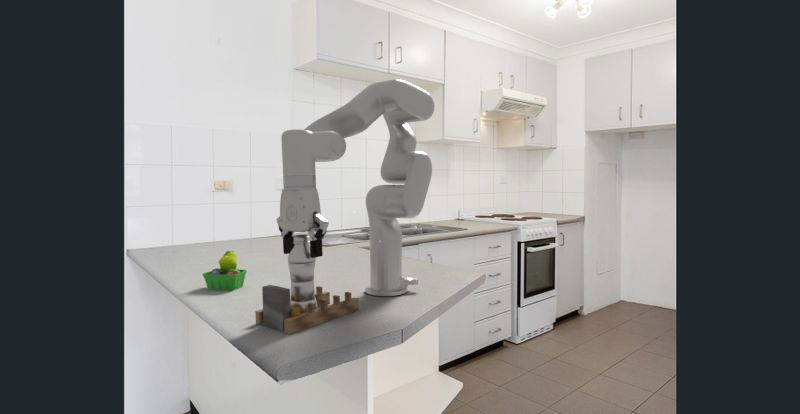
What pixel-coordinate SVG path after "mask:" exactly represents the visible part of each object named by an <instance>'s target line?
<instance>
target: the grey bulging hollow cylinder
mask: <svg viewBox="0 0 800 414" xmlns="http://www.w3.org/2000/svg"><path fill="white" fill-rule="evenodd" d="M293 236H294V241H293V244H294V247H293V248H292V250H291V251H290V253H289V254H287V255H288V256H287V263H288V270H289V275H290V276H289V278H290V286H291V287H290V306H294V307H298V308H300V314H303V313H306V312H308V303H315V309H318V307H317V301H316V298H315V294H316V288H315V269H316V260H317V257H315V258H311V256H310V241H311V240H310V235H309V234H295V235H293Z"/></svg>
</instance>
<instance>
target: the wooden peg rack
mask: <svg viewBox="0 0 800 414" xmlns="http://www.w3.org/2000/svg"><path fill="white" fill-rule="evenodd" d="M261 290H262V291H261V292H262V309H257V310H255V324H256V325H263V326H265V327H268V328H271V329H272V330H273V329H274V330H276V331H281V332H284V333H285V334H288V335H291V334H293V333H297V332H300V331H303V330H305V329H308V328H310V327H313V326H317V325H320V324H322V323H325V322H328V321H331V320H333V319H337V318H340V317H342V316H346V315H349V314H350V313H354V312H356V311H359V303H360V302H359V301H360V300H359V298H358V297H352V292H349V291H346V292H344V300H341V296H340V295H336V294H335V295H332V304H331V302H330V301H331V300H330V299H331V297H330V295H331V294H330V293H331V292H330V291H323V286H319V285H317V286H315V298H316V301H317V309H315V303H308V312H306V313H303V314H300V308H298V307H294V306H290V300H291V299H290V298H291V288H287V287H283V286H278V285H274V284H273V285H272V284H267V285H264V286H262V289H261Z"/></svg>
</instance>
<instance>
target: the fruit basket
mask: <svg viewBox="0 0 800 414" xmlns="http://www.w3.org/2000/svg"><path fill="white" fill-rule="evenodd" d="M218 264H219V268H213V269H212V270H209V271H207V272H203V273H202V276H203V278H204V281H205V284H206V288H207V289H208V290H217V291H219V290H223V291H236V290H238V289H240V288H241V287H243V286H244V283H245V277H246V274H247V272H248V270H247V269H237V266H238V260H237V254H236V253H235V251H234V250H227V251H225V253H224V254H223V256H222V257H220V258H219V261H218Z"/></svg>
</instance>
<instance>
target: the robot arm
mask: <svg viewBox="0 0 800 414" xmlns="http://www.w3.org/2000/svg"><path fill="white" fill-rule="evenodd" d="M434 112H435V100H434V99H433V97H432V95H431V94H430V93H429V92H427V90H425V89H423V88H421V87H419V86H417V85H414V84H413V83H411V82H408V81H406V80H402V79H398V78H393V79H390V80H389V79H388V80H383V81H377V82H375V83H371V84H369V85H368V86H366V87H364V89H363V90H361V91H360V92H359V93H358V94H356V95H355V96H354V97H353V98H352V99H351V100H349V101H348V102H347V103H346V104H344V105H343V106H341V107H339V108H336V109H334V110H333V111H331V112H330V113H328V114H326V115H324V116H322V117H320V118H318V119H317V120H315V121H313V122H312V123H311V124H309V125H307V126H306V128H304V129H297V128H296V129H295V128H294V129H287V130H284V131H283V132H282V134H281V138H280V139H281V161H282V177H283V178H282V179H283V181H282V182H283V189H281V193H280V194H281V195H280V201H279V202H280V203H279V216H278V217H277V218H276V223H277V226H278V231H280V233H281V234H280V236H281V238H282V246H283V247H282V248H283V249H282V250H283V254H284V255H289V253H290V251H291V250H292V248H293V247H294V244H293V241H294V236H295V235H294V234H295V233H306V232H307V233H308V235H309V238H311V240H310V243H309V246H310V256H311V258H315V257H316V258H319V257H322V256H323V240H324V239H325V235H326V234H327V231H328V226H329V221H328V220H327V219H326V218H324V217H323V216H322V212H321V211H322V210H321V203H320V201H321V200H320V197H319V192H318V189H317V178H316V174H317V173H316V163H324V162H325V163H326V162H336V161H337V160H340V159H341V158H342V157H343V156H345V153H346V151H347V143H346V140H345V139H346V138H350V137H353V136H356V135H359V134H361V133H363V132H364V131H367V129H368V128H369V127H370V126H371V125H373V123H374V122H375V121H377V120H378V119H379V118H380V117H381V116H383V119H384V121H385V124H386V127H387V129H388V133H389V139H388V143H387V147H386V151H385V154H384V157H383V159H382V162H381V166H380V177H381V179H382V180H383V181H384V182H385V183H387V184H378V185H375V186H373V187H372V188H370V189H369V190H368V191H367V194H366V196H365V207H366V213H367V217H368V224H369V225H368V226H369V227H368V228H369V266H370V267H369V269H370V270H369V272H370V273H369V275H370V277H369V278H370V279H369V281H370V284H369V285H367V286H366V287H365V290H364V291H365V293H366V294H368V295H370V296H375V297H395V296H400V295H405V294H406V293H407V292H408V290H409V289H408V288H409V287H408V286H418V285H419V279H418V278H414V277H405V276H404V274H403V232H402V228H401V225H400V223H399V220H398V219H415V218H416V217H418V216H419V215H420V214H421V212H422V210H423V207H424V205H425V201H426V199H427V194H428V190H429V187H430V185H431V183H430V182H431V180H432V175H433V165H432V160H431V158H430V156H429V154H427V153H426V152H424V151H420V150H416V149H417V148H416V147H417V137H416V134H415V132H414V131H413V130H412V128H411V127H410V124H409V123H414V122H415V123H417V122H422V121H427V120H429V119H430V118H431V117H432V116H433V114H434Z"/></svg>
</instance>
